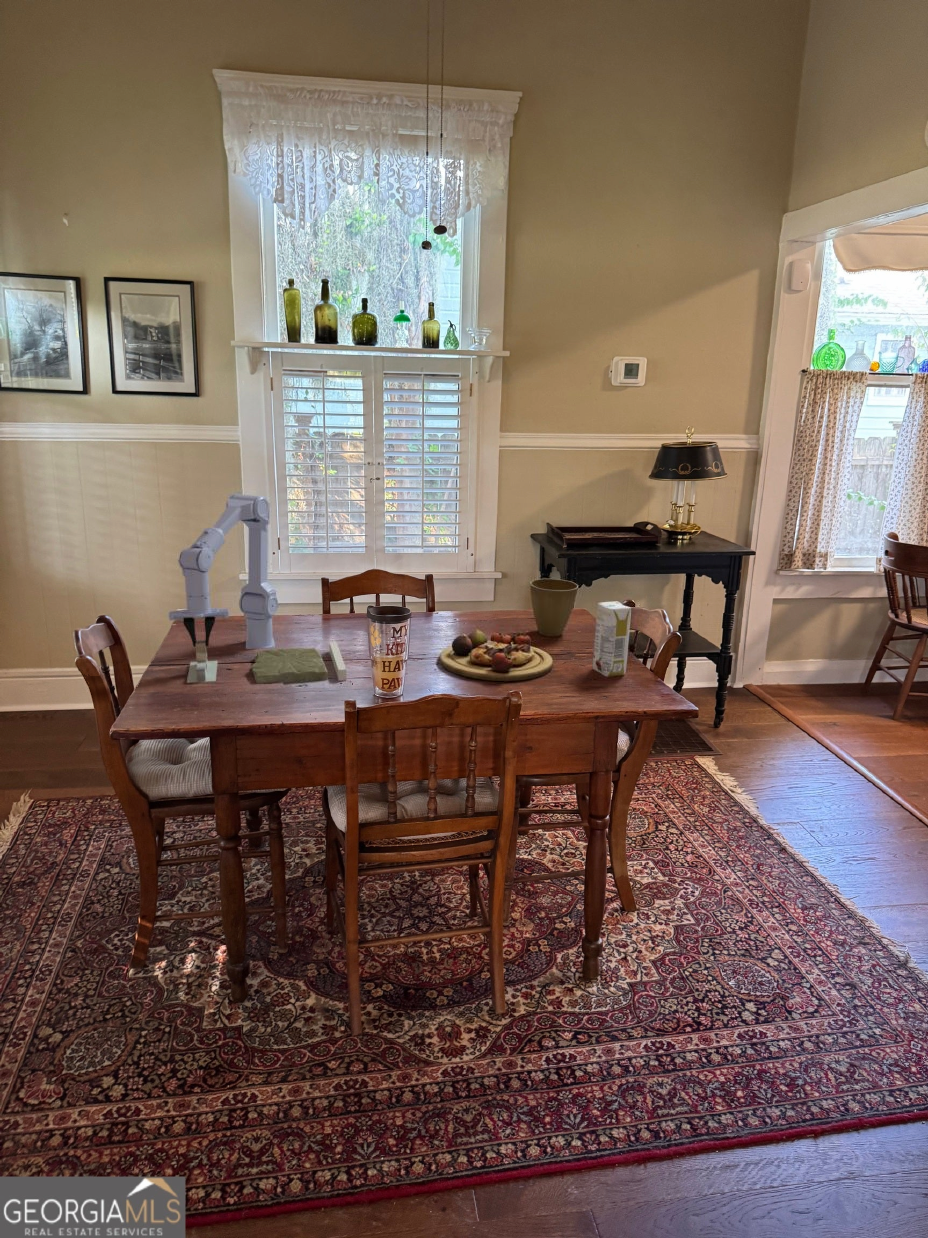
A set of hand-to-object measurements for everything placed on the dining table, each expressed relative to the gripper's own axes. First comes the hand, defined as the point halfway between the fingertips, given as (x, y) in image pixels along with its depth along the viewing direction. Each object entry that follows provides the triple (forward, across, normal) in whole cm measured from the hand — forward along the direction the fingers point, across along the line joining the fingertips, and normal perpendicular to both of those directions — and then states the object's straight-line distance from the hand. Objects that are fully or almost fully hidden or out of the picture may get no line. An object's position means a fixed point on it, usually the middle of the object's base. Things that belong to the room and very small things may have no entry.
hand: (201, 645), depth 210 cm
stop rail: (+8, +35, 0) cm, 36 cm away
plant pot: (+8, +104, +19) cm, 106 cm away
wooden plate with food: (+8, +79, -5) cm, 79 cm away
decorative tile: (+8, +22, -1) cm, 23 cm away
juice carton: (+8, +107, -18) cm, 109 cm away
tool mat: (+8, 0, 0) cm, 8 cm away
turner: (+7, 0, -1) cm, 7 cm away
